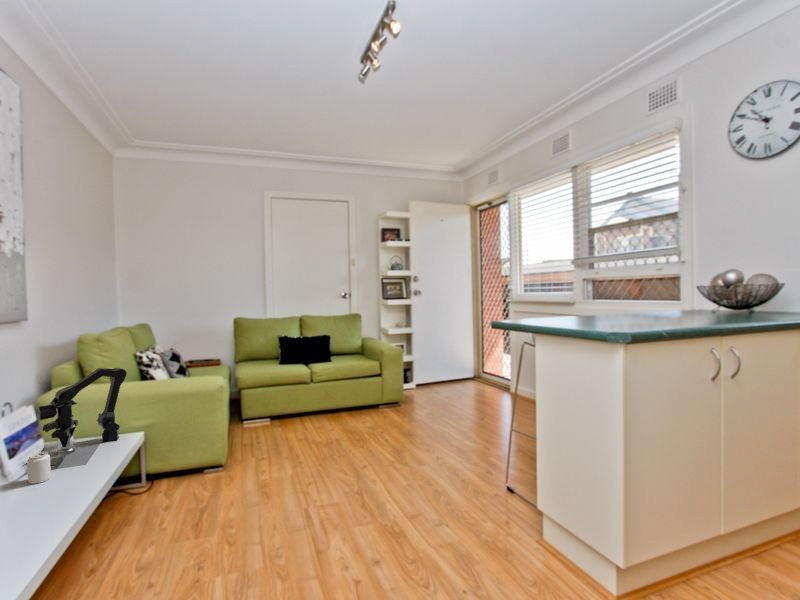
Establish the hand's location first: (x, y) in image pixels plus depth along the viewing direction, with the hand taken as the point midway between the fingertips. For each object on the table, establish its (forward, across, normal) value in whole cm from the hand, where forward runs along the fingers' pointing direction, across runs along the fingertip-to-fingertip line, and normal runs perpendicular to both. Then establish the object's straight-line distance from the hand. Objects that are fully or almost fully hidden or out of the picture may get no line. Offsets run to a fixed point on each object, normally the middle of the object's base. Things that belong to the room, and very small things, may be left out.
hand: (66, 445), depth 208 cm
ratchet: (+4, +9, 0) cm, 9 cm away
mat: (+4, +7, +4) cm, 9 cm away
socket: (+1, 0, 0) cm, 1 cm away
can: (+4, +31, -1) cm, 31 cm away
